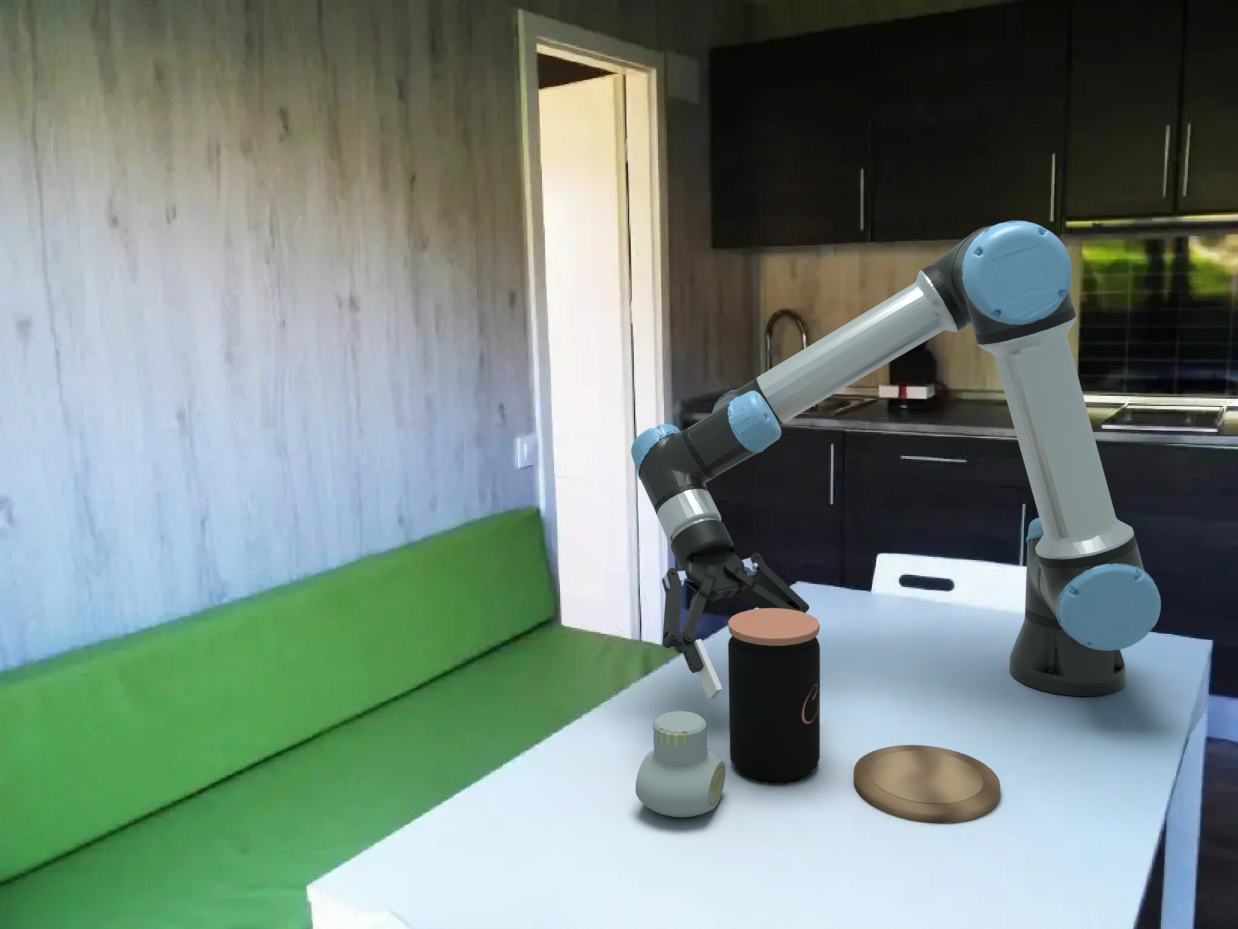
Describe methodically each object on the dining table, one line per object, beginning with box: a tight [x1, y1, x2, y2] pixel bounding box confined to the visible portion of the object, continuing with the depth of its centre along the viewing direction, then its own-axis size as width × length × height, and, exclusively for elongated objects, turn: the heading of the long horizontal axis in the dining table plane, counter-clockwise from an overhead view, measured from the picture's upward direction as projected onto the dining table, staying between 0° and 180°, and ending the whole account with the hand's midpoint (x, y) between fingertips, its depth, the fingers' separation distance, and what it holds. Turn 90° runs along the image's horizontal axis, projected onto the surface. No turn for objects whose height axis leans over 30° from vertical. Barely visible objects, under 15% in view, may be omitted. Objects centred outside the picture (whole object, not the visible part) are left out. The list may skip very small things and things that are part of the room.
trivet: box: [853, 744, 1001, 824], centre depth 120 cm, size 16×16×1 cm
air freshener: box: [635, 710, 726, 818], centre depth 117 cm, size 11×8×10 cm
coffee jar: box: [727, 608, 821, 785], centre depth 125 cm, size 11×11×18 cm
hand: (764, 682), depth 125 cm, fingers open, 13 cm apart
